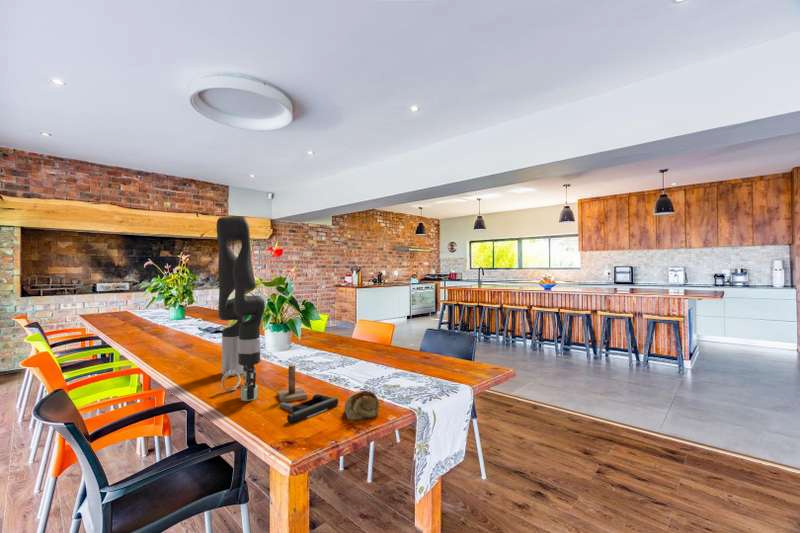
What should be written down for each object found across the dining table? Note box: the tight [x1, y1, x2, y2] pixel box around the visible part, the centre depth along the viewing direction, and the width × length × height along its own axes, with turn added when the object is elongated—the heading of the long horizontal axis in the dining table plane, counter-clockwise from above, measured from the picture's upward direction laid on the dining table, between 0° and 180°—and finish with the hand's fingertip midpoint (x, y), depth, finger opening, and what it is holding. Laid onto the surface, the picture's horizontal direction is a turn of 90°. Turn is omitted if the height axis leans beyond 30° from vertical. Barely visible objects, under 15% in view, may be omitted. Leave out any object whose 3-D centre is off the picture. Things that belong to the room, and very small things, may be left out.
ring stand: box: [276, 364, 308, 403], centre depth 136 cm, size 9×9×12 cm
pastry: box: [344, 390, 380, 421], centre depth 123 cm, size 14×12×8 cm
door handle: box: [279, 393, 339, 424], centre depth 125 cm, size 3×20×16 cm
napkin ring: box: [240, 384, 259, 402], centre depth 134 cm, size 6×6×4 cm
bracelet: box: [221, 370, 242, 392], centre depth 142 cm, size 7×3×8 cm, turn 132°
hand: (249, 396), depth 134 cm, fingers closed on napkin ring, 5 cm apart
